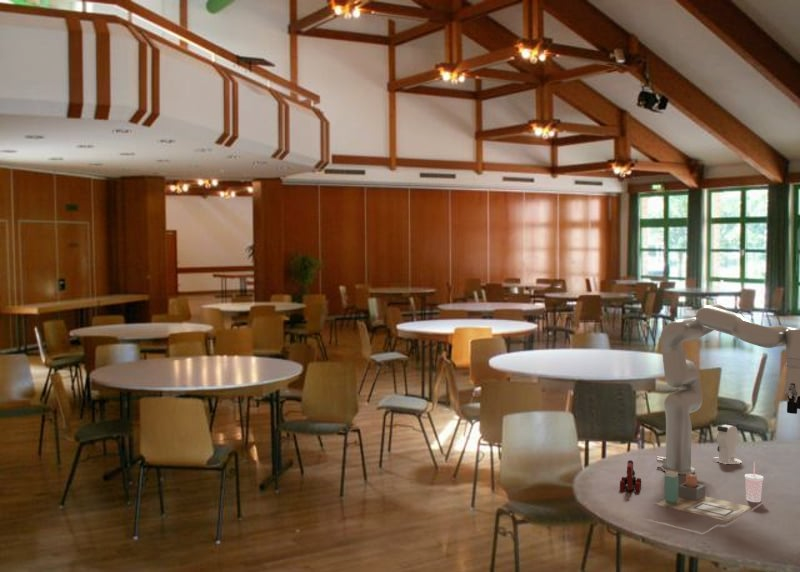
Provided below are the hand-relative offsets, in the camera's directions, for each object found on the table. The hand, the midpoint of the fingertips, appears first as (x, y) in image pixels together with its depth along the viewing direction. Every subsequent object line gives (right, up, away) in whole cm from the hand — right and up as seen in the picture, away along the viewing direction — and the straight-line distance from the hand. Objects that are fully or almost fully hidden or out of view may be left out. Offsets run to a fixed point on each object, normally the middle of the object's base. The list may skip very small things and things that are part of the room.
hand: (795, 411), depth 288 cm
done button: (-37, -27, -1) cm, 46 cm away
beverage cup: (-17, -31, -4) cm, 36 cm away
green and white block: (-47, -30, -8) cm, 56 cm away
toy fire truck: (-56, -30, +8) cm, 64 cm away
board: (-37, -31, -10) cm, 49 cm away
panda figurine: (-5, -28, +48) cm, 56 cm away
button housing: (-37, -30, -1) cm, 48 cm away
